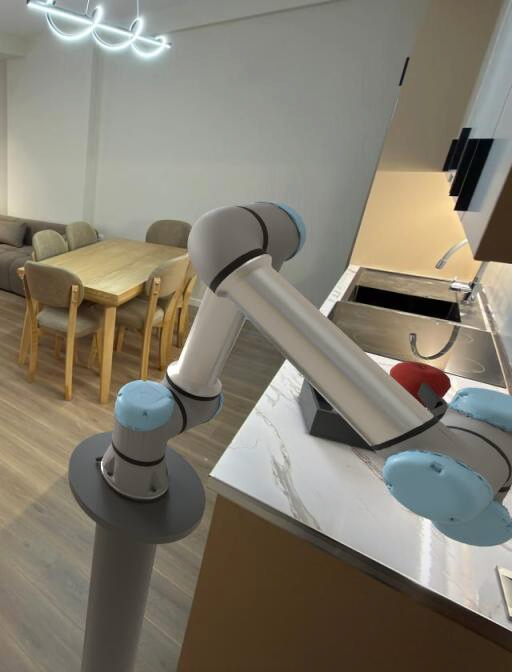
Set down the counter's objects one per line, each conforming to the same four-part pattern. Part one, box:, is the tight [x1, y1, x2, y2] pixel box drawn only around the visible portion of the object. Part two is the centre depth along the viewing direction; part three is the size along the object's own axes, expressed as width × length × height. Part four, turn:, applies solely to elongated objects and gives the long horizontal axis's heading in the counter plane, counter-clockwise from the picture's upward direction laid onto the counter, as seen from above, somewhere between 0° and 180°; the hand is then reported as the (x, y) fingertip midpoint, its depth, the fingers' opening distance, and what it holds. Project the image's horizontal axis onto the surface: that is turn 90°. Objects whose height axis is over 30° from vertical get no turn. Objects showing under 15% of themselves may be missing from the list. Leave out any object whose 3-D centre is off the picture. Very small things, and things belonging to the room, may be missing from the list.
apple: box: [389, 360, 452, 408], centre depth 112 cm, size 12×12×13 cm
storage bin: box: [298, 377, 375, 452], centre depth 105 cm, size 18×18×8 cm
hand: (376, 380), depth 80 cm, fingers open, 13 cm apart
